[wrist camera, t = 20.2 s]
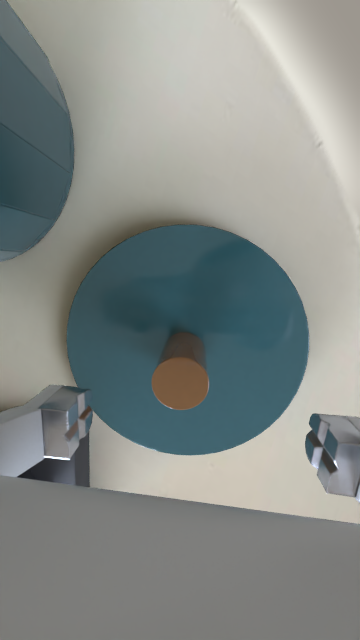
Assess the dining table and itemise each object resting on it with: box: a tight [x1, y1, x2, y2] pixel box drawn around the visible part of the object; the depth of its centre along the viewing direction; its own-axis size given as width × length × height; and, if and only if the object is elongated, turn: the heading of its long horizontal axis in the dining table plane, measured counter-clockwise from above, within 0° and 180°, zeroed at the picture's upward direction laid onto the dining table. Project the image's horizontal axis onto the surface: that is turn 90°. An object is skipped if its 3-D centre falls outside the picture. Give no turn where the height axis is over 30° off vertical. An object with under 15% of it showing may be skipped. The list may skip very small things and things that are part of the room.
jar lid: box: [67, 225, 309, 455], centre depth 14 cm, size 15×15×5 cm
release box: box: [17, 431, 89, 487], centre depth 17 cm, size 11×9×4 cm
